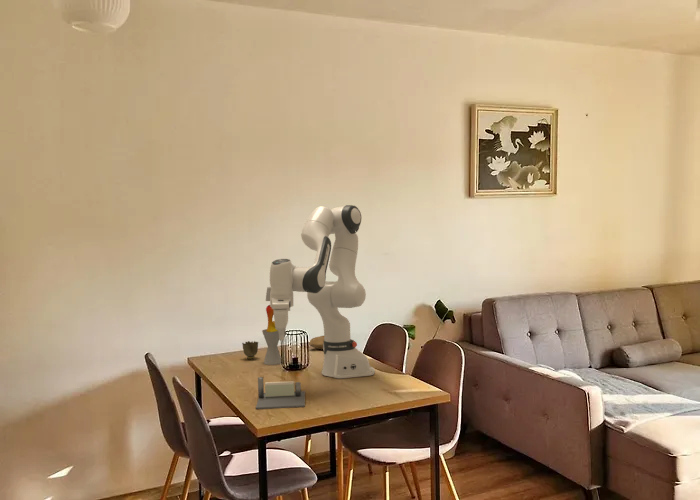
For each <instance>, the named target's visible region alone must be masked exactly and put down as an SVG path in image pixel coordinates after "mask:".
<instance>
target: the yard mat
mask: <svg viewBox="0 0 700 500" xmlns="http://www.w3.org/2000/svg"><path fill="white" fill-rule="evenodd" d="M294 394H295V395H292V396H271V397H265V392H264V398H259V397H258V399H257V402H256V406H255V410H269V409H290V408H292V409H293V408H305V407H306V406H305V404H306V403H305V402H306V390H301V396H299V397H296V393H295V391H294Z"/></svg>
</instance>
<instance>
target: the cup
mask: <svg viewBox="0 0 700 500" xmlns="http://www.w3.org/2000/svg"><path fill="white" fill-rule="evenodd" d="M241 343H242V349H243V354H244V355H245V356H246V358H247V360H249V359H250V361H251V359H252V360H254V359H255V358H256V355H257V354H258V347H259V341H255V340H254V341H249V340H248V341H245V343H244V342H241Z"/></svg>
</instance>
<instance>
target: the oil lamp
mask: <svg viewBox="0 0 700 500" xmlns="http://www.w3.org/2000/svg"><path fill="white" fill-rule="evenodd" d="M323 343H324V335H320V336H315V337H312V338H311V339H310V340H309V342H308V345H309V346H310V347H312V348H314V349H319V350H321V349H323Z"/></svg>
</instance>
